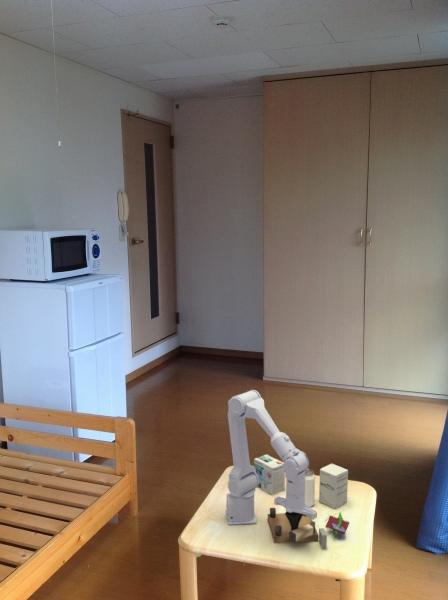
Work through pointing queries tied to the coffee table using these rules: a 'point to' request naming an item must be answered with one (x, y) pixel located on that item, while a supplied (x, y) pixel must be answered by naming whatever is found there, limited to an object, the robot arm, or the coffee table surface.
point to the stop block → (322, 538)
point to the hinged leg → (302, 532)
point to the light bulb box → (270, 474)
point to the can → (309, 487)
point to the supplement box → (333, 486)
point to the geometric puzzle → (337, 524)
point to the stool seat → (287, 527)
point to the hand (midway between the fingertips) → (294, 532)
